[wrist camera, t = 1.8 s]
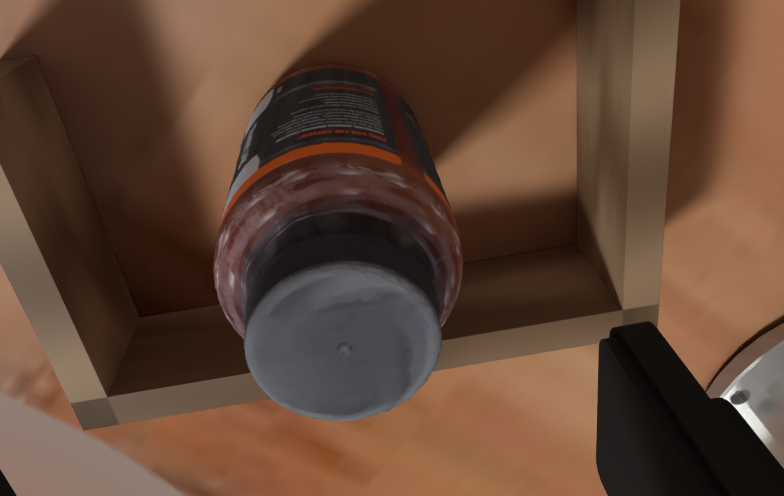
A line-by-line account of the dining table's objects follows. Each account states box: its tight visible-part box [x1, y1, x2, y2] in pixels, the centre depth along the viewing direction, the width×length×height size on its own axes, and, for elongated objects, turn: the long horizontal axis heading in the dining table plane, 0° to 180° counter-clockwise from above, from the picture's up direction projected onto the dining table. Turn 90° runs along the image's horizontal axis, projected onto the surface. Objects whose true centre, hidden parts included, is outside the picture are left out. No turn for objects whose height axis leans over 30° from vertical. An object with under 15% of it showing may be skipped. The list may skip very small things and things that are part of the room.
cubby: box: [0, 0, 680, 430], centre depth 22 cm, size 11×19×4 cm, turn 98°
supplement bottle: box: [213, 64, 463, 421], centre depth 18 cm, size 6×6×11 cm
